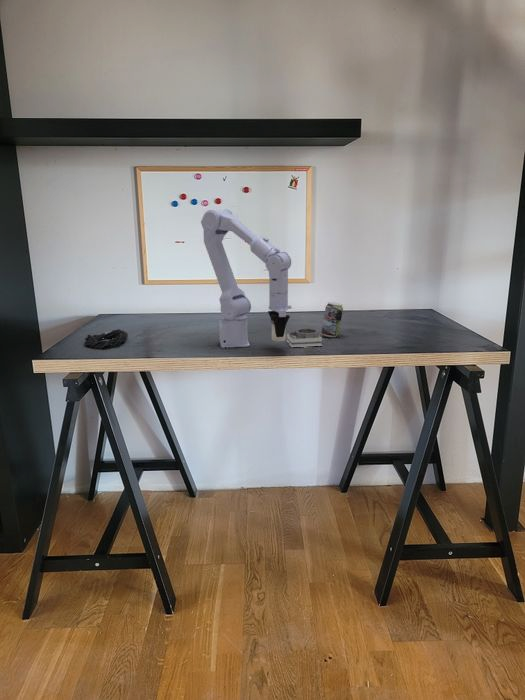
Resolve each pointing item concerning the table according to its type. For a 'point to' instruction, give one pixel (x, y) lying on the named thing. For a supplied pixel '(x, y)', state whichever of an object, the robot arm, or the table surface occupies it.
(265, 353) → the table surface
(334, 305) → the beverage can
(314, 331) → the square housing with collar
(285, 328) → the lens
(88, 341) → the cable
